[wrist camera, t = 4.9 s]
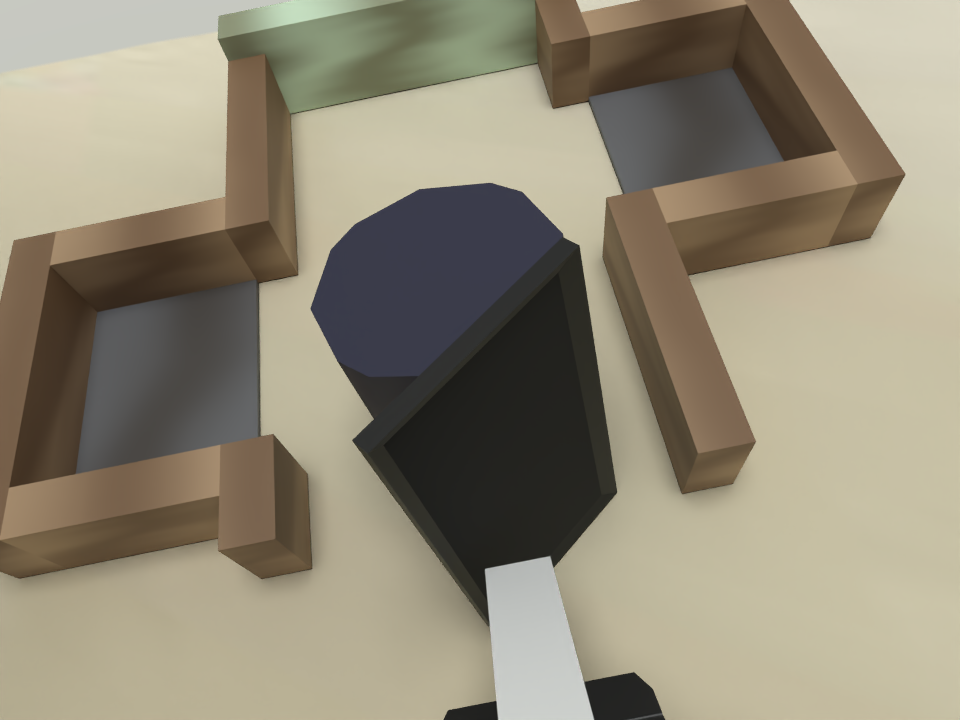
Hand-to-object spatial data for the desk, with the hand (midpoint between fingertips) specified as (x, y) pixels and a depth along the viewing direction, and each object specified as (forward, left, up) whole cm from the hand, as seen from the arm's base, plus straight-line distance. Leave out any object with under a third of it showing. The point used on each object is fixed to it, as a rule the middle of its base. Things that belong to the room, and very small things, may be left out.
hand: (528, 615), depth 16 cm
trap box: (0, +13, -3) cm, 14 cm away
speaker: (0, +5, -4) cm, 6 cm away
